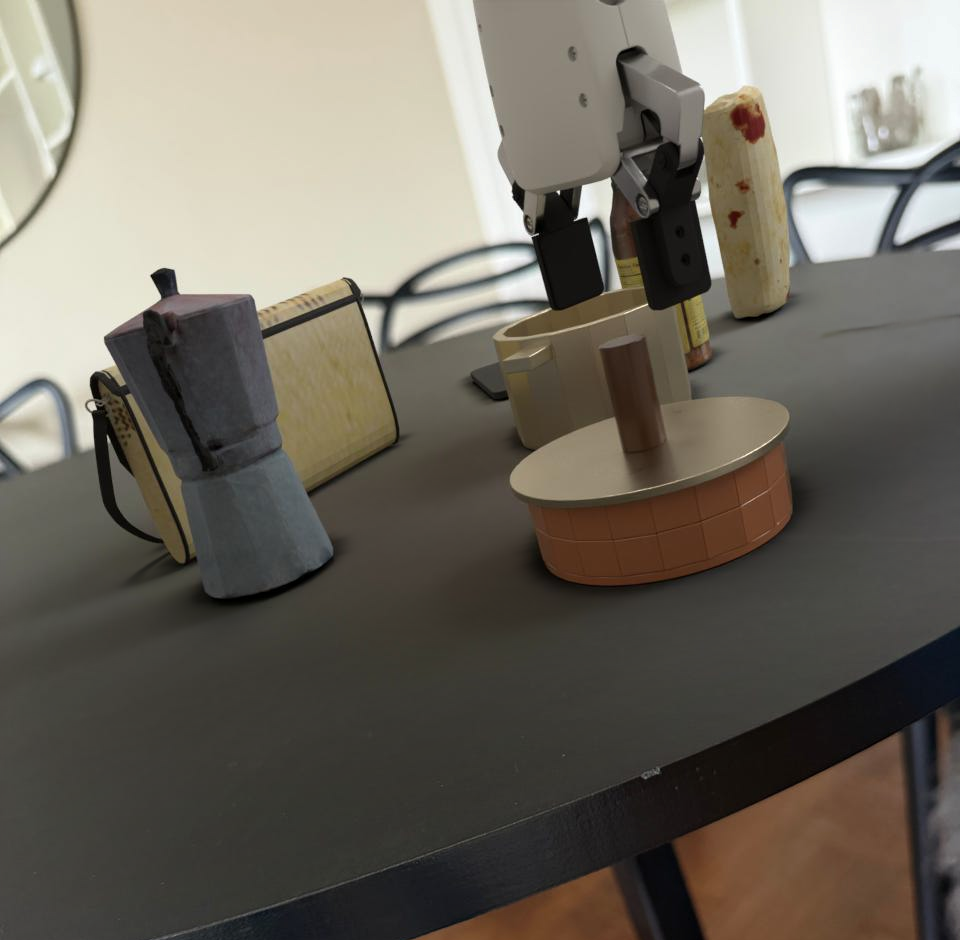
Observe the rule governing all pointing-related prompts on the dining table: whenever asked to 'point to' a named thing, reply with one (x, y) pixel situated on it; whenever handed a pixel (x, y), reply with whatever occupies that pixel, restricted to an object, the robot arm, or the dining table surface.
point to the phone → (491, 380)
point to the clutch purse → (300, 398)
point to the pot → (583, 362)
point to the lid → (647, 440)
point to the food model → (747, 202)
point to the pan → (668, 528)
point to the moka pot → (221, 437)
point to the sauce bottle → (630, 276)
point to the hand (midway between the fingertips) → (625, 301)
